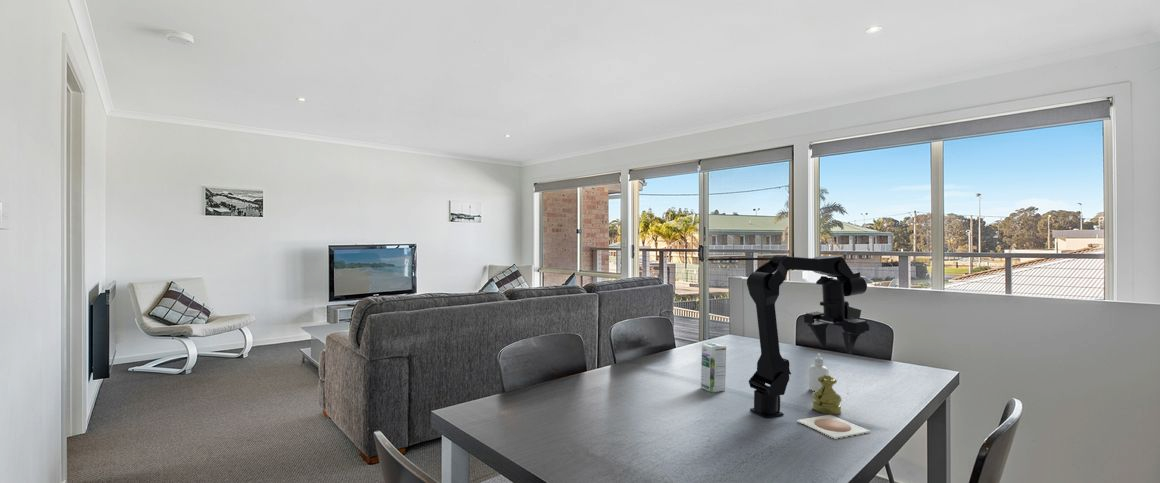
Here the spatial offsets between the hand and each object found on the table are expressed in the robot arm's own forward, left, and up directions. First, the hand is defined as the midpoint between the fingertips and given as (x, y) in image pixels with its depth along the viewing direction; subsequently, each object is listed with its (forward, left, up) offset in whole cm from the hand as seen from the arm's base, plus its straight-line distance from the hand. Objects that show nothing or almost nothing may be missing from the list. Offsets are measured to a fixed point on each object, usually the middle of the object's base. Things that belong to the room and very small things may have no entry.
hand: (836, 350), depth 147 cm
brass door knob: (-7, -3, -16) cm, 18 cm away
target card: (-16, -13, -16) cm, 26 cm away
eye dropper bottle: (+5, +11, -16) cm, 20 cm away
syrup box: (-26, +24, -16) cm, 39 cm away
